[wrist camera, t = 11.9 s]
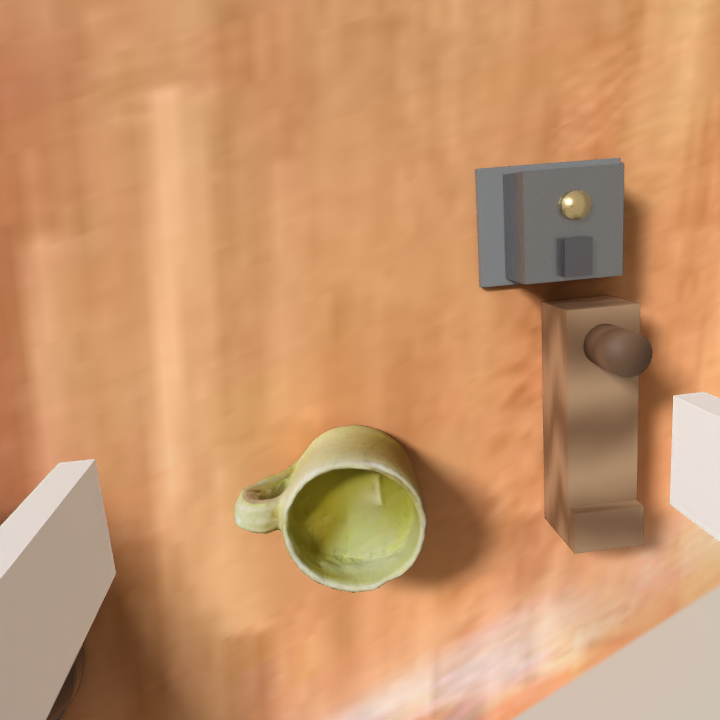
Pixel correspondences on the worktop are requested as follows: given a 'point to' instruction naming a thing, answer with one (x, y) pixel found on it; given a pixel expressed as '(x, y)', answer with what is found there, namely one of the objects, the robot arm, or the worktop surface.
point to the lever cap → (563, 223)
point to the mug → (343, 509)
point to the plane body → (592, 420)
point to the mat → (493, 216)
